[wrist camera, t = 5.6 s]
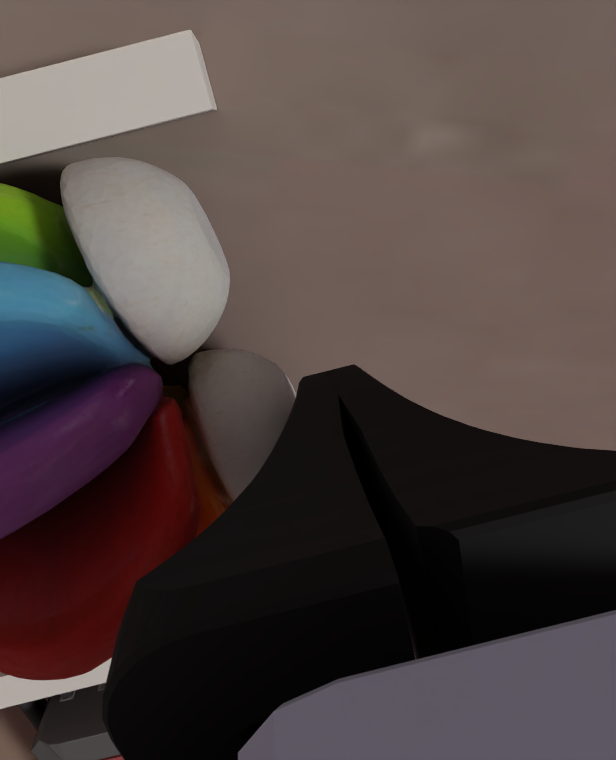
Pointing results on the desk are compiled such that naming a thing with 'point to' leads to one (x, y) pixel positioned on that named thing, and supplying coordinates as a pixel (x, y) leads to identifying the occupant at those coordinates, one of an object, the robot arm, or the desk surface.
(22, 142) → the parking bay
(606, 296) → the desk surface
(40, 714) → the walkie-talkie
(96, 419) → the colorful petals pebble cluster
